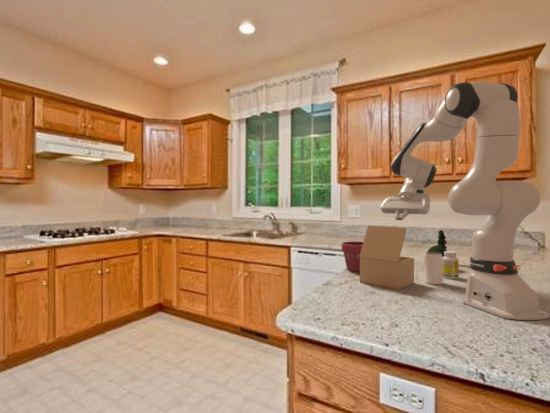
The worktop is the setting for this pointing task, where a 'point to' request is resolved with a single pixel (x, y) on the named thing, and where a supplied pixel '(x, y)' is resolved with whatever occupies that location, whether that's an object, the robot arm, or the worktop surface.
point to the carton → (387, 272)
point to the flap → (383, 243)
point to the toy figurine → (440, 244)
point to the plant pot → (352, 255)
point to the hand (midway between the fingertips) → (398, 219)
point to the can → (433, 268)
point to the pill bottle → (450, 265)
